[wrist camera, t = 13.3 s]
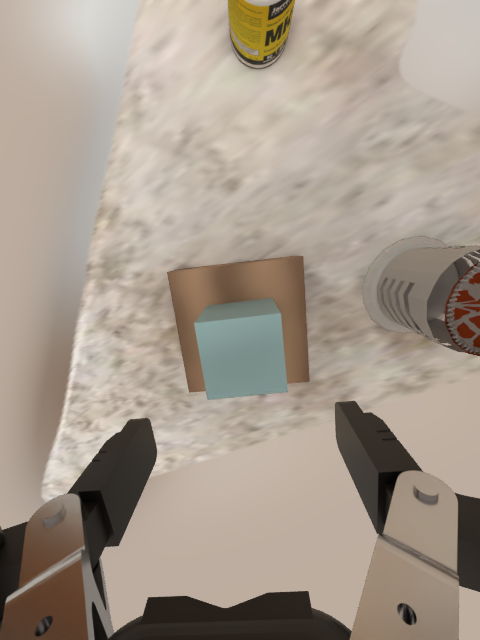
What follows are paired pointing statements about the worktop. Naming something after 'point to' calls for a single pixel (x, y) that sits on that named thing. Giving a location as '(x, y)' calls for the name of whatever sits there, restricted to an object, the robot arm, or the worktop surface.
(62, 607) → the robot arm
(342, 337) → the worktop surface
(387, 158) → the worktop surface
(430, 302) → the french press
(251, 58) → the supplement bottle
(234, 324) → the teal cube
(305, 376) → the walnut block
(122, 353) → the worktop surface
